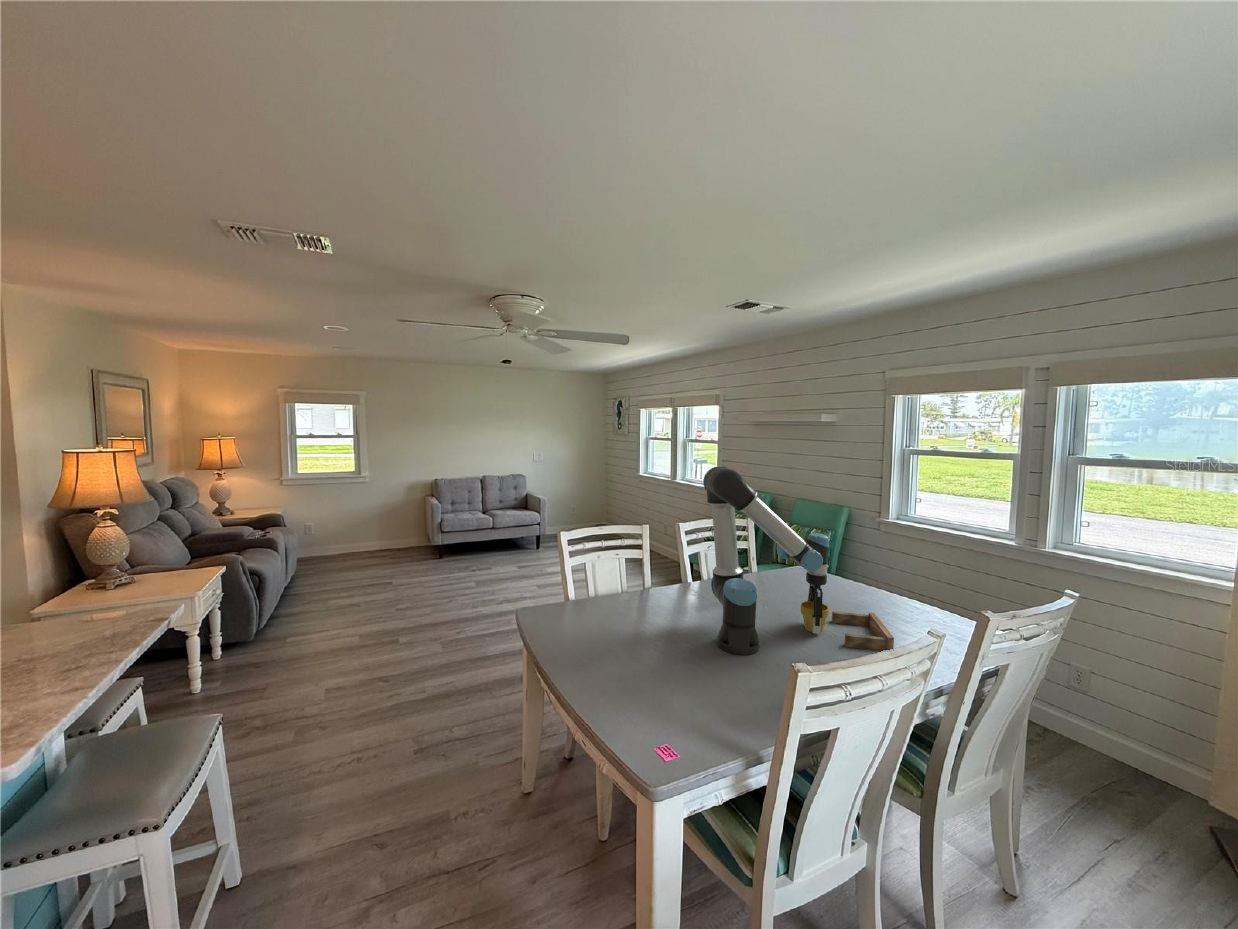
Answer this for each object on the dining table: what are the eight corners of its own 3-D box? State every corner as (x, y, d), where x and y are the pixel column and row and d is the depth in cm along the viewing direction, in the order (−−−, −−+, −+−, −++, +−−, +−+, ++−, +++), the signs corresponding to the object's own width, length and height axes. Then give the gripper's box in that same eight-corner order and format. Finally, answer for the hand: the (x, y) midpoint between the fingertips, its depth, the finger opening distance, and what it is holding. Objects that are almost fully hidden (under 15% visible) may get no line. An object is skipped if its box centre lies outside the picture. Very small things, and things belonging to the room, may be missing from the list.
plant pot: (809, 636, 190) (810, 611, 189) (794, 625, 200) (795, 601, 199) (833, 634, 192) (834, 609, 191) (817, 623, 202) (819, 600, 201)
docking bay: (845, 646, 181) (846, 633, 181) (831, 620, 205) (832, 609, 204) (893, 651, 178) (894, 638, 178) (873, 624, 201) (874, 612, 201)
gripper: (833, 582, 182) (829, 640, 184) (821, 565, 204) (818, 617, 206) (811, 581, 183) (808, 638, 185) (802, 564, 206) (799, 615, 208)
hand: (813, 627), depth 196 cm, fingers closed on plant pot, 10 cm apart
